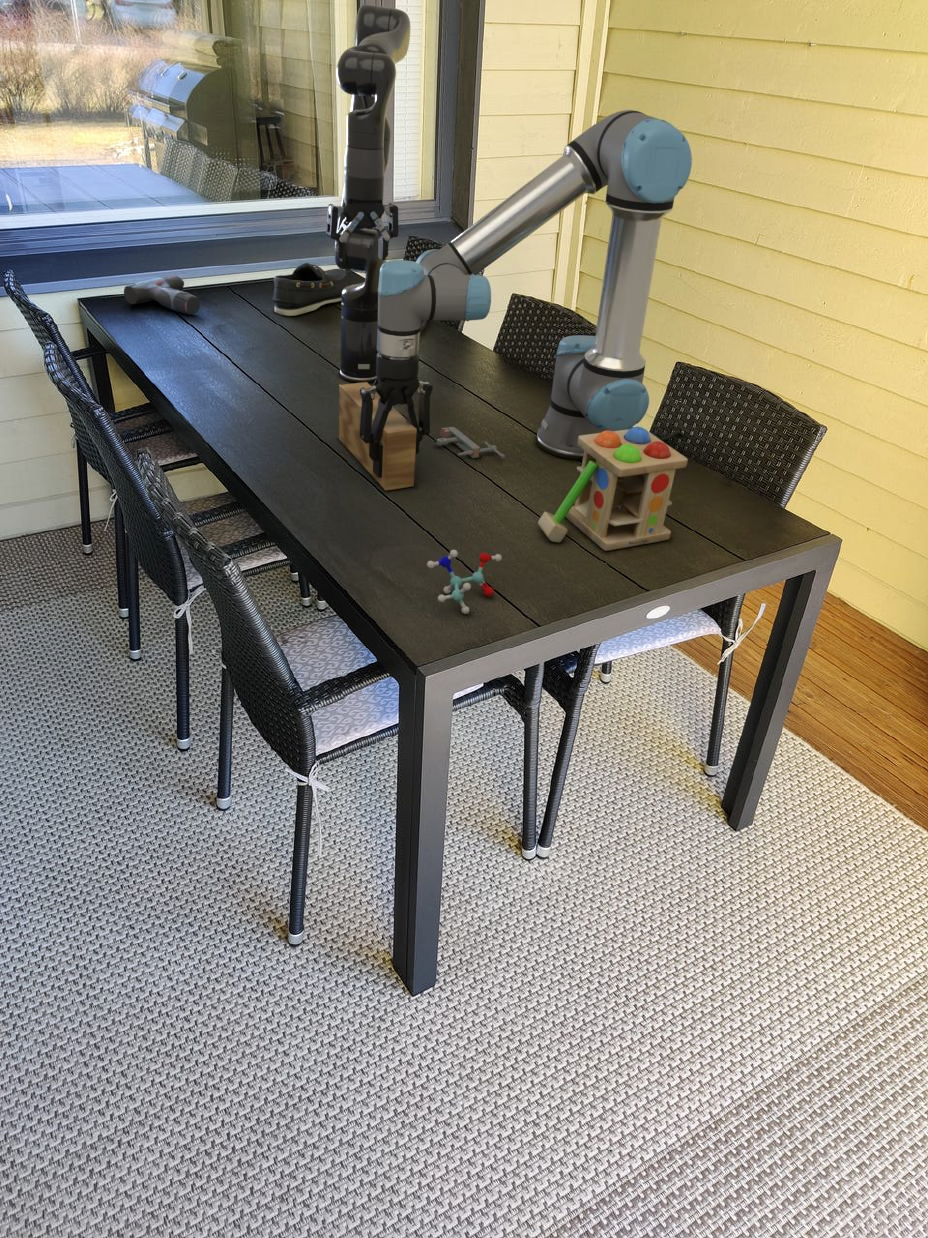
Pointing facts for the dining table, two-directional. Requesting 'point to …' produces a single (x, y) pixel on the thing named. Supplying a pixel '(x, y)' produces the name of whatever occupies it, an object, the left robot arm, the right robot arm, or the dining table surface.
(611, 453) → the pounding bench toy
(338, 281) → the boat shoe
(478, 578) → the molecular model
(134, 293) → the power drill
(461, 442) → the clamp
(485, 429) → the dining table surface
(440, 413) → the dining table surface
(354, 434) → the box
